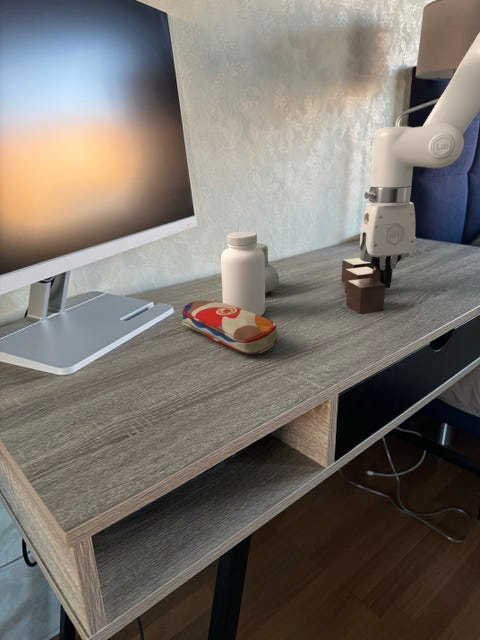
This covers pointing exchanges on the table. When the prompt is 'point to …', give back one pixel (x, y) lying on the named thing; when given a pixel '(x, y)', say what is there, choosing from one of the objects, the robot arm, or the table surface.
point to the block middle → (360, 274)
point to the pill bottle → (243, 273)
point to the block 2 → (365, 295)
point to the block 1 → (354, 265)
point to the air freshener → (269, 271)
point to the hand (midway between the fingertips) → (382, 286)
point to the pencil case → (231, 326)
